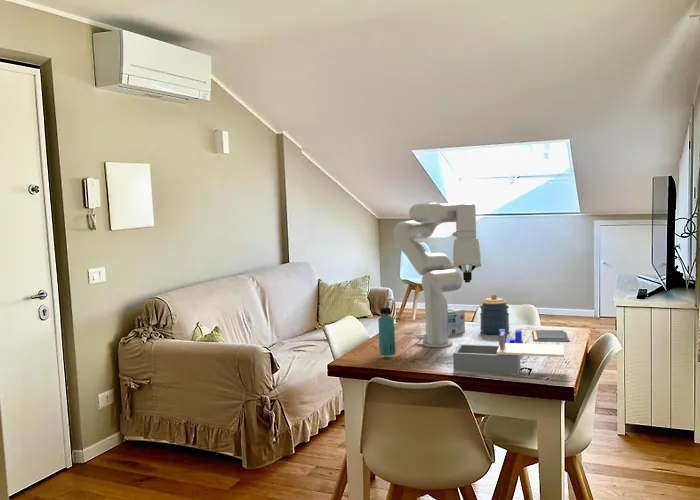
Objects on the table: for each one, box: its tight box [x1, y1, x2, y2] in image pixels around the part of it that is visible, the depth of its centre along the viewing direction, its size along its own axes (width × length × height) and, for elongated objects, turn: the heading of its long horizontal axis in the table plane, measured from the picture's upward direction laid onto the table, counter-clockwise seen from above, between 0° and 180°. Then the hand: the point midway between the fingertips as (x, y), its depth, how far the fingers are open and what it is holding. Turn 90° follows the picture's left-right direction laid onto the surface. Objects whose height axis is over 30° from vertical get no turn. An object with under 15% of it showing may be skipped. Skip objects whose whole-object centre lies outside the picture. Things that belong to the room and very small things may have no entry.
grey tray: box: [452, 343, 521, 377], centre depth 217 cm, size 22×14×7 cm, turn 70°
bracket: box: [498, 328, 524, 346], centre depth 246 cm, size 18×8×9 cm, turn 161°
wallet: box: [531, 329, 571, 343], centre depth 263 cm, size 20×2×15 cm
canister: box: [479, 293, 510, 336], centre depth 276 cm, size 13×13×18 cm
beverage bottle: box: [377, 307, 396, 357], centre depth 238 cm, size 6×7×20 cm
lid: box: [497, 332, 565, 358], centre depth 211 cm, size 22×14×6 cm, turn 70°
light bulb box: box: [448, 307, 466, 336], centre depth 279 cm, size 11×7×11 cm, turn 119°
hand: (467, 282), depth 235 cm, fingers closed
